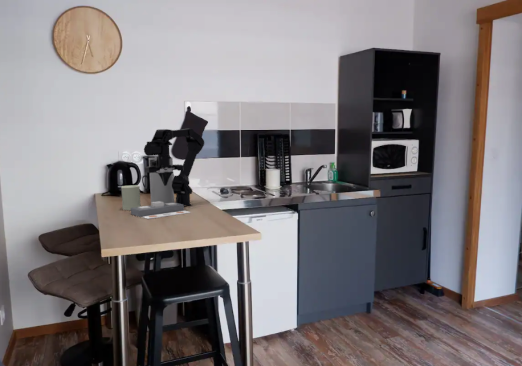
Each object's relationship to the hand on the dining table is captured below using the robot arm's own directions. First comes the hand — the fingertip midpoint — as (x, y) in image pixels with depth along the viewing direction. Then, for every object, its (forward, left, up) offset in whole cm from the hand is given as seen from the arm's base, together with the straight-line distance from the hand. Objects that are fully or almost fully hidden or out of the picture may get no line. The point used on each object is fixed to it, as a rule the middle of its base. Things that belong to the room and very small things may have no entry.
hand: (165, 185), depth 222 cm
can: (+12, -15, -12) cm, 23 cm away
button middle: (+7, +5, -9) cm, 13 cm away
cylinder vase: (-7, -18, -12) cm, 23 cm away
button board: (+7, +5, -12) cm, 15 cm away
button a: (+14, +5, -11) cm, 18 cm away
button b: (0, +5, -11) cm, 12 cm away
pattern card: (+7, +14, -12) cm, 20 cm away
